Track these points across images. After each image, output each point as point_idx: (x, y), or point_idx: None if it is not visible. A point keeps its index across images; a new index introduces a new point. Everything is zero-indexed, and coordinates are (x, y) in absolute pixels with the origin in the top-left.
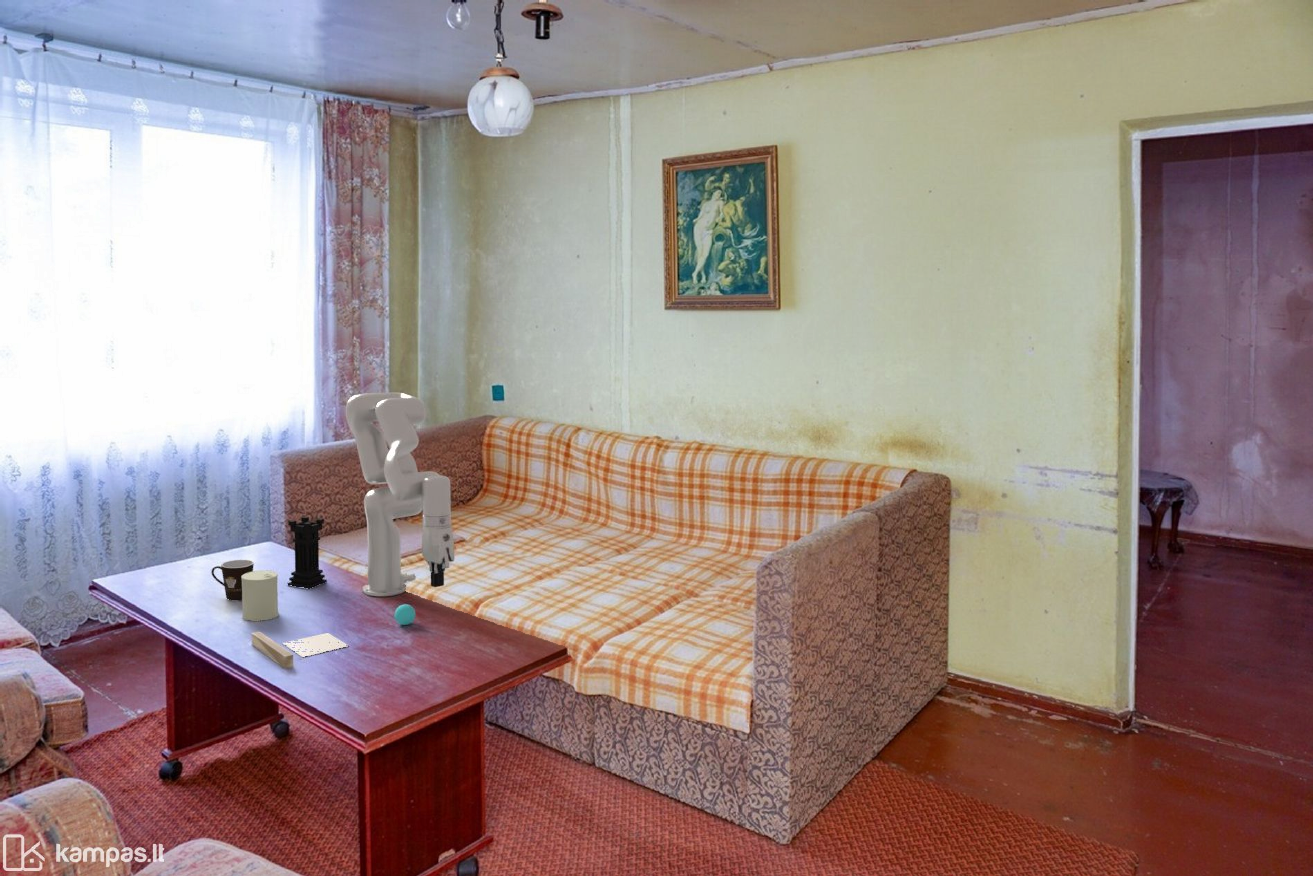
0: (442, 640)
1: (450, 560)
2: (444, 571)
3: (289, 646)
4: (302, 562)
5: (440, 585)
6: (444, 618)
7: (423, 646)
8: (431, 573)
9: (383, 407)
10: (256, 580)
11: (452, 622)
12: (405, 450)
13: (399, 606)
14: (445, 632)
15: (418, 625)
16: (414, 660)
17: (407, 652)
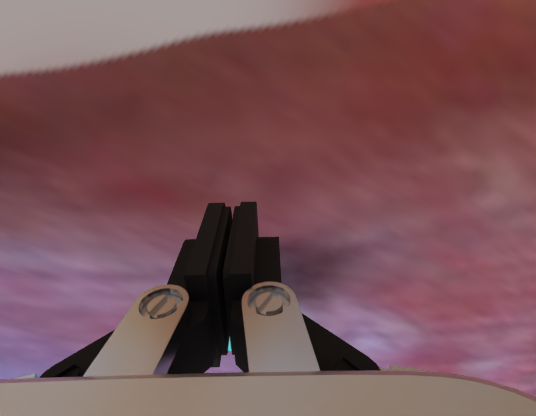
0: (470, 250)
1: (407, 390)
2: (288, 289)
3: None
4: None
5: (257, 229)
6: (266, 130)
7: (461, 311)
8: (216, 358)
9: None
10: None
11: (337, 127)
12: None
13: (228, 350)
14: (415, 208)
15: (279, 249)
16: (520, 361)
17: (460, 355)
